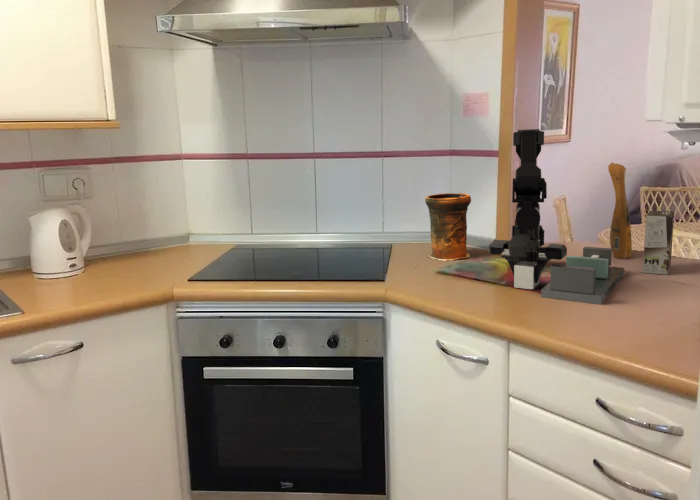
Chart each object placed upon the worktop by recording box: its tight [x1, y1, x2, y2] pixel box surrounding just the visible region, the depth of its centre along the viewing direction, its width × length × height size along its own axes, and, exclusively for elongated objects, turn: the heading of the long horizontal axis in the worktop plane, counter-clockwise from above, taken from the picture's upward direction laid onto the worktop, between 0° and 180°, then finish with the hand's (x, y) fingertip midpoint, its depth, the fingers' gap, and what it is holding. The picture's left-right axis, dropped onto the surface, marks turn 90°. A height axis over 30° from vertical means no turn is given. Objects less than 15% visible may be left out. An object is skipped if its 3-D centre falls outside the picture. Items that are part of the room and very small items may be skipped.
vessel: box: [424, 192, 472, 262], centre depth 194 cm, size 14×14×20 cm
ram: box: [565, 246, 613, 278], centre depth 163 cm, size 10×14×5 cm
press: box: [540, 263, 625, 305], centre depth 157 cm, size 14×29×8 cm, turn 147°
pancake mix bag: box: [607, 162, 633, 260], centre depth 187 cm, size 7×19×28 cm, turn 162°
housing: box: [513, 261, 540, 290], centre depth 159 cm, size 5×5×6 cm
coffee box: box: [642, 210, 675, 276], centre depth 167 cm, size 9×6×16 cm
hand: (526, 281), depth 159 cm, fingers closed on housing, 5 cm apart
